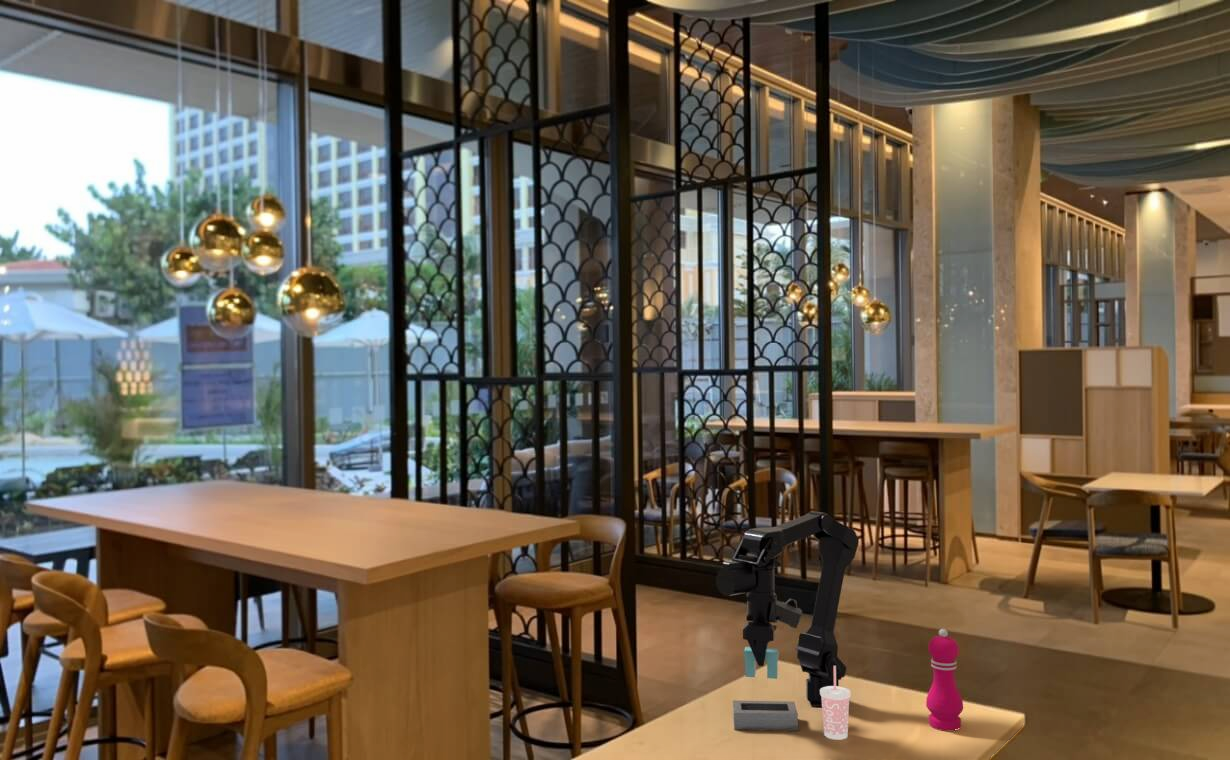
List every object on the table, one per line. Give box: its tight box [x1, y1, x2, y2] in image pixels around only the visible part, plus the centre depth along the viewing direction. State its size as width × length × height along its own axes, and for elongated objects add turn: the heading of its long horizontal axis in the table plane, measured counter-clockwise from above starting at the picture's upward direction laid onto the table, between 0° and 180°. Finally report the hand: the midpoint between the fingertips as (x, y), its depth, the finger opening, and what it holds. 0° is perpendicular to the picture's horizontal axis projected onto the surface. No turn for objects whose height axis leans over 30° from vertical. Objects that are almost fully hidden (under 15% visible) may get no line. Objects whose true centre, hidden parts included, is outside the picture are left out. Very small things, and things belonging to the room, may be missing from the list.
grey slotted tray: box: [732, 700, 799, 732], centre depth 191 cm, size 13×7×4 cm, turn 84°
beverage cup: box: [820, 666, 851, 741], centre depth 184 cm, size 6×6×14 cm
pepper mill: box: [925, 628, 964, 731], centre depth 188 cm, size 7×7×20 cm
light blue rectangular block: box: [743, 646, 779, 680], centre depth 192 cm, size 7×3×6 cm, turn 77°
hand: (761, 663), depth 192 cm, fingers closed on light blue rectangular block, 3 cm apart
